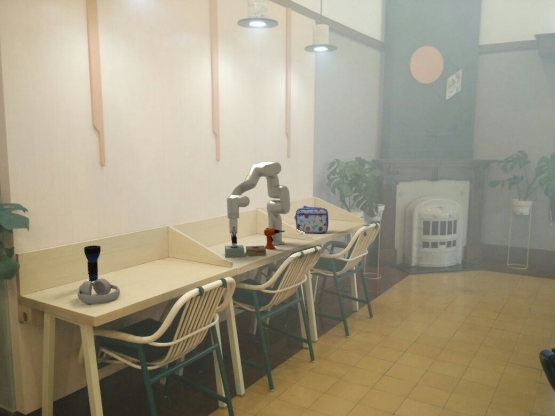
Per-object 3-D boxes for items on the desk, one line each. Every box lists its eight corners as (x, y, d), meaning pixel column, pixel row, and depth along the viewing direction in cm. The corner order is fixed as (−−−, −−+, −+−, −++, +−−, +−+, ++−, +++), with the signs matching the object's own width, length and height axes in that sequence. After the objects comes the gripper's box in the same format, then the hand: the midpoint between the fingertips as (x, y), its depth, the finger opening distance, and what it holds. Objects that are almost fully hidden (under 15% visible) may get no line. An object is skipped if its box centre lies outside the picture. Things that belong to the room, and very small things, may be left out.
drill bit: (231, 252, 326) (231, 237, 325) (236, 252, 326) (236, 237, 325) (232, 253, 323) (231, 238, 321) (237, 253, 323) (236, 238, 322)
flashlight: (105, 284, 258) (103, 246, 255) (90, 287, 252) (88, 249, 250) (98, 281, 263) (96, 244, 261) (83, 284, 258) (81, 246, 255)
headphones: (71, 296, 237) (84, 312, 221) (71, 280, 235) (84, 295, 219) (110, 288, 247) (125, 303, 232) (110, 274, 246) (125, 288, 230)
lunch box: (293, 234, 398) (293, 206, 395) (295, 231, 408) (294, 205, 406) (328, 234, 394) (328, 206, 392) (328, 232, 404) (328, 205, 402)
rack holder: (224, 253, 330) (224, 245, 329) (243, 252, 331) (242, 244, 331) (225, 257, 318) (225, 249, 317) (244, 256, 319) (244, 248, 319)
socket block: (246, 252, 331) (245, 246, 331) (264, 251, 333) (263, 245, 332) (247, 256, 320) (247, 249, 319) (266, 255, 321) (265, 249, 321)
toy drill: (284, 249, 330) (281, 227, 330) (263, 249, 342) (261, 228, 342) (289, 248, 334) (286, 226, 333) (268, 248, 346) (265, 227, 346)
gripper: (227, 214, 329) (227, 239, 332) (227, 217, 312) (228, 244, 315) (238, 213, 330) (239, 239, 333) (239, 217, 313) (240, 244, 316)
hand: (234, 241), depth 324 cm, fingers open, 9 cm apart
